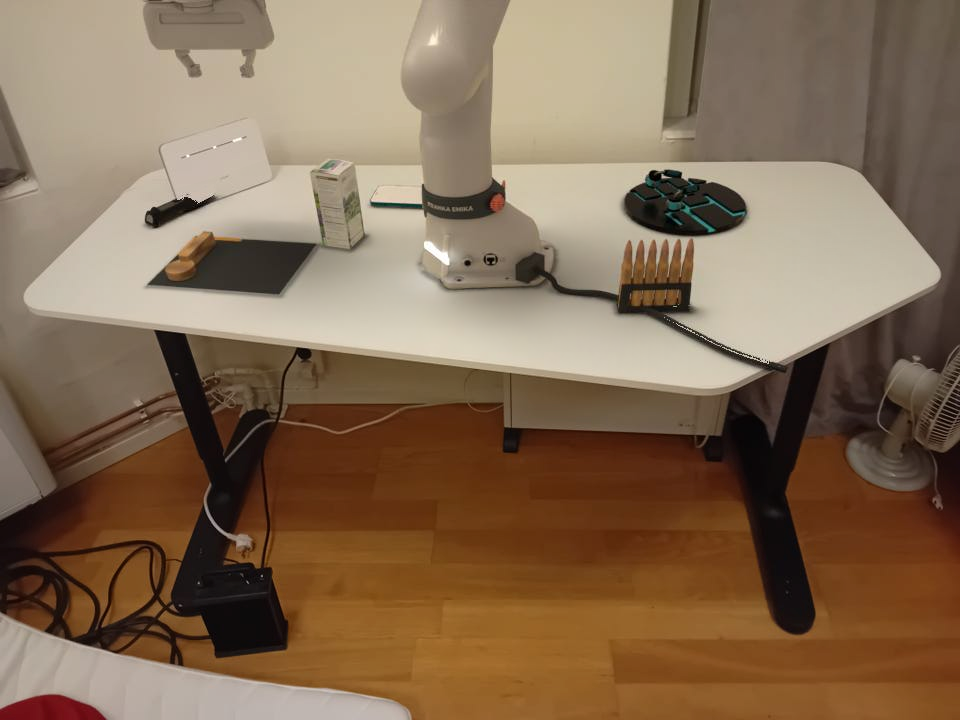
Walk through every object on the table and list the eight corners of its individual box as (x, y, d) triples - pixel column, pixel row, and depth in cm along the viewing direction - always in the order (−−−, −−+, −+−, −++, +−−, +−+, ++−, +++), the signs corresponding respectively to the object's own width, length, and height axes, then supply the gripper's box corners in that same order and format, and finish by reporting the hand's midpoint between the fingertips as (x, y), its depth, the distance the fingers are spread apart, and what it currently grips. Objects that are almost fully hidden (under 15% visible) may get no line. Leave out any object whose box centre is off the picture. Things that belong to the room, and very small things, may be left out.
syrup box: (338, 232, 138) (324, 157, 130) (366, 236, 137) (354, 160, 128) (322, 246, 134) (307, 170, 125) (351, 251, 133) (338, 174, 124)
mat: (317, 245, 135) (317, 243, 135) (279, 296, 122) (278, 293, 121) (196, 238, 139) (196, 235, 139) (147, 286, 126) (146, 284, 126)
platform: (700, 174, 151) (704, 143, 147) (770, 219, 134) (777, 185, 130) (603, 195, 145) (604, 164, 141) (664, 245, 129) (668, 211, 125)
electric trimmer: (222, 199, 153) (218, 185, 151) (155, 228, 143) (150, 213, 141) (211, 195, 154) (207, 180, 153) (144, 224, 145) (139, 208, 143)
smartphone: (456, 191, 150) (379, 188, 152) (456, 187, 149) (379, 184, 151) (449, 210, 144) (369, 206, 146) (449, 205, 143) (368, 202, 145)
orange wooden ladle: (199, 243, 137) (196, 230, 135) (223, 244, 136) (220, 232, 134) (162, 280, 127) (157, 267, 125) (187, 282, 126) (183, 269, 124)
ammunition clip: (617, 313, 113) (623, 243, 106) (616, 306, 115) (621, 237, 107) (689, 311, 113) (699, 241, 105) (686, 304, 114) (697, 234, 107)
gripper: (269, -22, 115) (288, 71, 123) (149, -19, 118) (176, 70, 127) (251, -13, 110) (272, 83, 118) (127, -10, 113) (156, 82, 122)
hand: (222, 76), depth 122 cm, fingers open, 8 cm apart
